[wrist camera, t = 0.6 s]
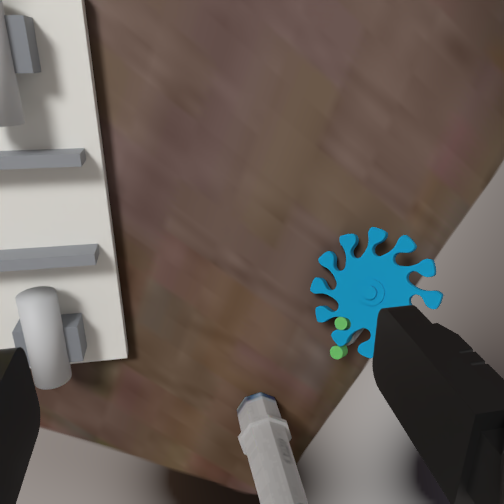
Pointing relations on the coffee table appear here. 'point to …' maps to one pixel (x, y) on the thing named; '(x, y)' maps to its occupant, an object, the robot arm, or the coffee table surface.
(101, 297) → the coupling board
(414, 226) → the coffee table surface
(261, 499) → the toothbrush head
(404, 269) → the gear
